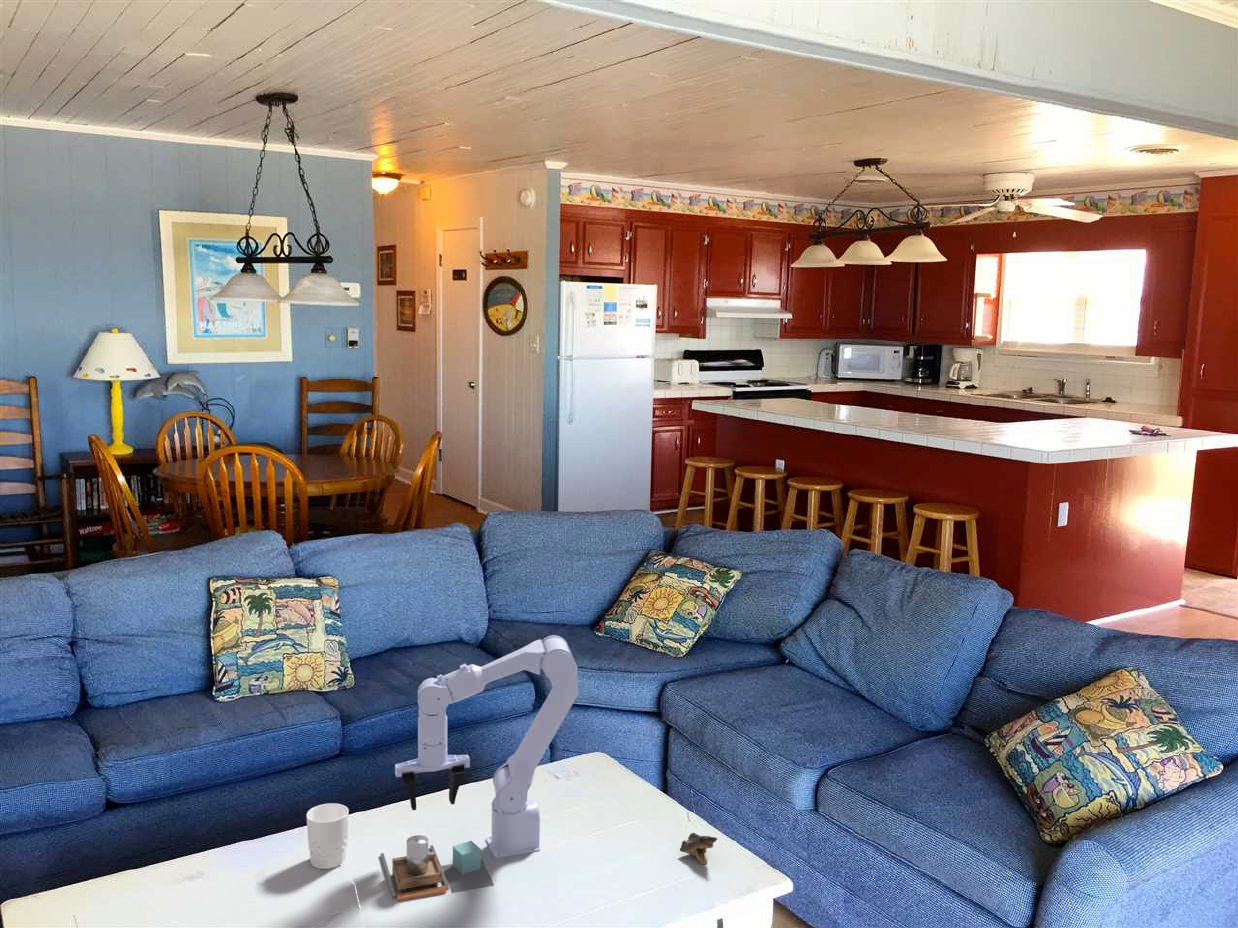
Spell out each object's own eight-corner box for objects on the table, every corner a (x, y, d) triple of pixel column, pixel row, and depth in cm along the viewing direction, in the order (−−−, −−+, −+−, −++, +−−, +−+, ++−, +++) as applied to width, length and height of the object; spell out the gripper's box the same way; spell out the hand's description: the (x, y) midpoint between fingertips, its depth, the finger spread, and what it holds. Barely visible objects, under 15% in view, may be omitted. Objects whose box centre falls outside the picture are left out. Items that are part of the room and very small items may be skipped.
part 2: (471, 859, 199) (471, 840, 199) (480, 868, 196) (480, 848, 196) (452, 865, 197) (452, 846, 196) (462, 874, 194) (462, 854, 193)
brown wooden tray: (434, 868, 196) (434, 851, 196) (441, 888, 189) (441, 870, 189) (392, 875, 193) (392, 858, 193) (398, 896, 186) (398, 878, 186)
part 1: (428, 864, 193) (428, 834, 192) (428, 875, 189) (428, 844, 188) (406, 865, 192) (406, 835, 191) (406, 876, 188) (406, 846, 187)
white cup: (337, 873, 194) (336, 824, 192) (299, 868, 195) (298, 819, 194) (355, 853, 201) (355, 805, 200) (319, 848, 203) (318, 801, 201)
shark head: (722, 869, 201) (730, 837, 200) (695, 871, 198) (703, 839, 197) (701, 847, 208) (708, 816, 207) (675, 849, 204) (682, 818, 204)
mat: (481, 860, 200) (481, 858, 200) (494, 886, 190) (494, 884, 190) (441, 866, 197) (441, 865, 197) (452, 893, 188) (452, 892, 187)
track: (432, 848, 204) (432, 843, 203) (450, 893, 188) (450, 887, 188) (380, 857, 200) (380, 851, 200) (393, 903, 184) (393, 897, 184)
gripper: (464, 727, 206) (464, 790, 208) (392, 736, 200) (392, 801, 202) (472, 741, 199) (472, 806, 201) (398, 750, 194) (398, 817, 196)
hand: (432, 804), depth 201 cm, fingers open, 7 cm apart
